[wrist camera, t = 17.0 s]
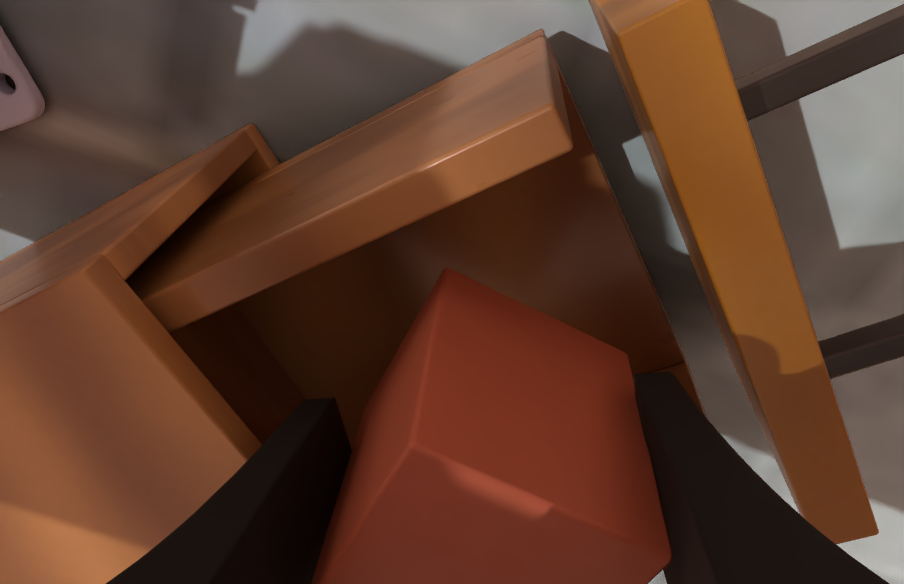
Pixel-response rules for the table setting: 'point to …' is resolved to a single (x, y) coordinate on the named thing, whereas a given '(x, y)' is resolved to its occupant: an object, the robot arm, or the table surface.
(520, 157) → the drawer
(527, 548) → the block
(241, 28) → the table surface
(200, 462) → the cabinet
